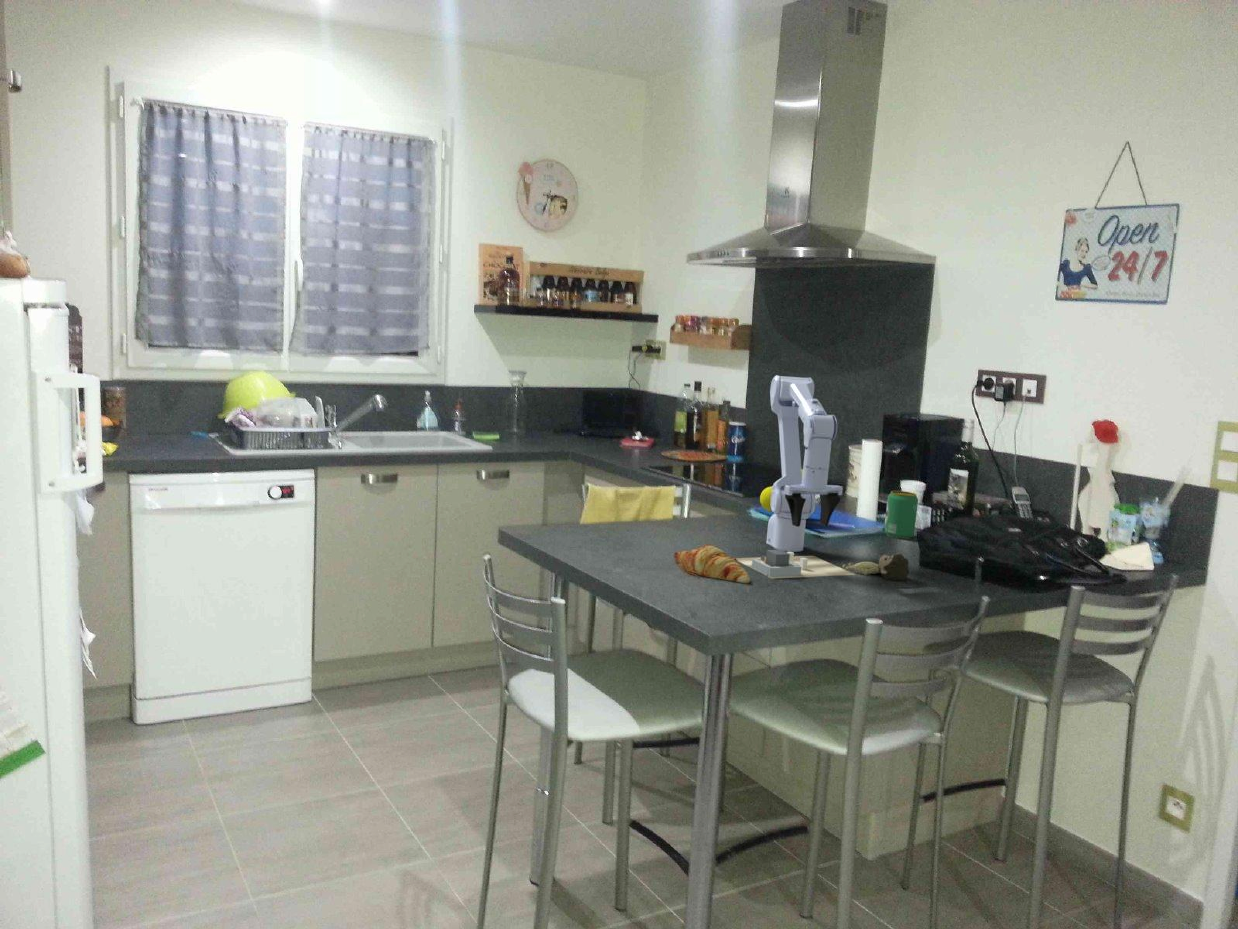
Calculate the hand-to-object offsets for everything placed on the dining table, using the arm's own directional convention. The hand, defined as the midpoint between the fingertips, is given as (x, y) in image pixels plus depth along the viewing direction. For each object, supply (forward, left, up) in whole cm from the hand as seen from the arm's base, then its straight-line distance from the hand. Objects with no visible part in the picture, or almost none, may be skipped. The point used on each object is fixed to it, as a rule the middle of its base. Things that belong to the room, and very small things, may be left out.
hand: (809, 525), depth 233 cm
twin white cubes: (+2, -4, -9) cm, 10 cm away
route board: (+3, -5, -10) cm, 11 cm away
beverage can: (-27, +48, -10) cm, 56 cm away
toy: (-47, +26, -10) cm, 55 cm away
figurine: (+11, +12, -10) cm, 19 cm away
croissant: (+4, -27, -10) cm, 29 cm away
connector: (+4, -12, -9) cm, 15 cm away
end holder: (+6, -12, -9) cm, 16 cm away
